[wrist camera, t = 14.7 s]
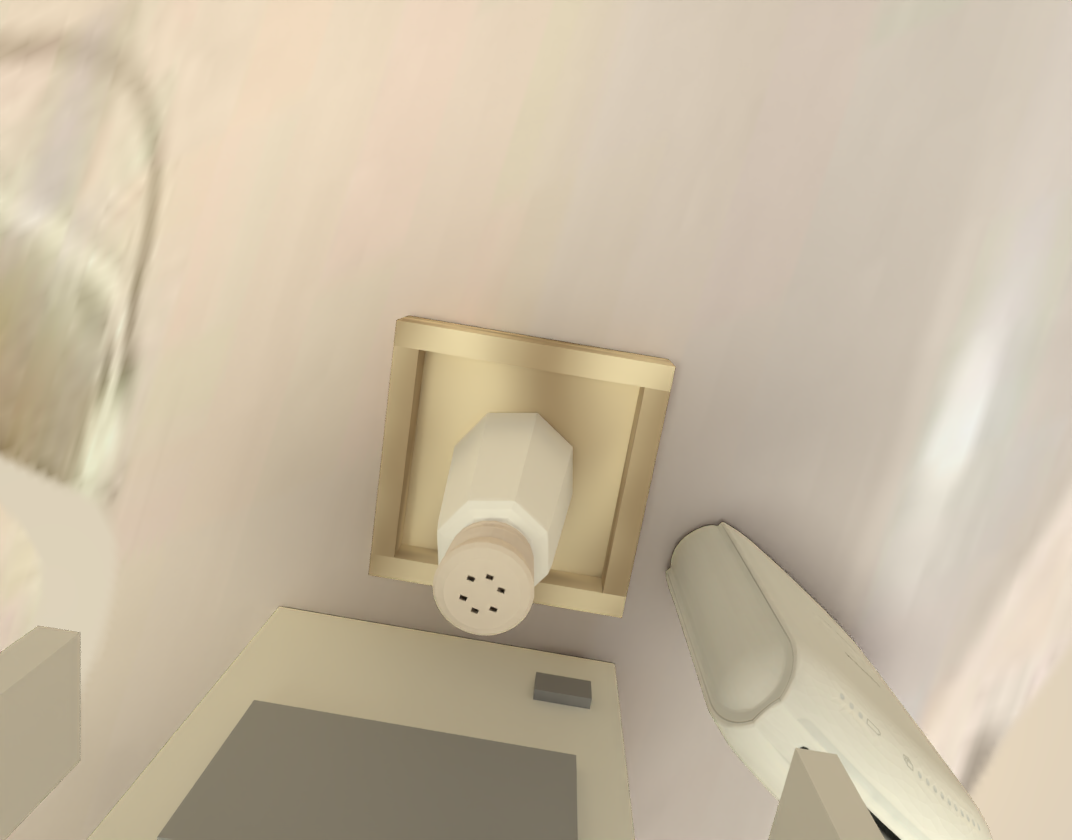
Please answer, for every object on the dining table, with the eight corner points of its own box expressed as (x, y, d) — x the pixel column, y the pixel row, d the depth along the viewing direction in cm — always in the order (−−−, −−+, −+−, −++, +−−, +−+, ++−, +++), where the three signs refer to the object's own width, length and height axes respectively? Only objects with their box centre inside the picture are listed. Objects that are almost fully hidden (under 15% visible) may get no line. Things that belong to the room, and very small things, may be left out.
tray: (381, 554, 31) (368, 575, 29) (408, 315, 28) (396, 320, 26) (618, 595, 31) (621, 617, 29) (668, 359, 28) (675, 366, 26)
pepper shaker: (477, 387, 28) (421, 468, 17) (597, 436, 28) (614, 545, 18) (433, 500, 29) (356, 640, 19) (548, 545, 30) (537, 709, 19)
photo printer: (872, 651, 31) (1066, 903, 19) (799, 707, 32) (941, 983, 20) (719, 501, 29) (824, 670, 17) (648, 564, 30) (701, 766, 18)
